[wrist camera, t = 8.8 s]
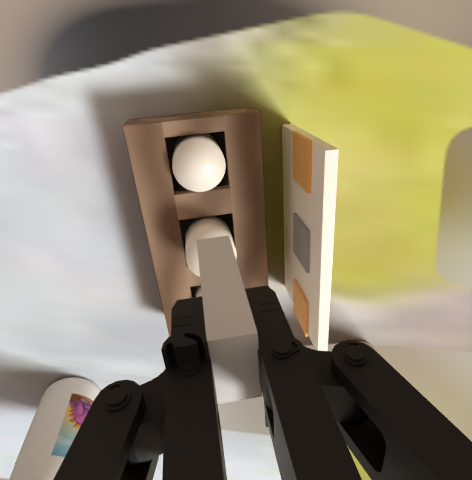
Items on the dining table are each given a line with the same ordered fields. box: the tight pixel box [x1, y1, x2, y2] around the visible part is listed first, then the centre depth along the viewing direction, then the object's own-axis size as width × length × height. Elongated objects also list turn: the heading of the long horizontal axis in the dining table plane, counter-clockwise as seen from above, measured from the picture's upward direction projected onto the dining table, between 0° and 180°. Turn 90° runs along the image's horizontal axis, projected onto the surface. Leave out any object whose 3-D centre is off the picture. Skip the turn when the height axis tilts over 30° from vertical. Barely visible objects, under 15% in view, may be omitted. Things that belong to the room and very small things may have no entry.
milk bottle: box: [10, 377, 101, 480], centre depth 39 cm, size 8×8×20 cm
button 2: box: [185, 216, 237, 277], centre depth 35 cm, size 5×5×4 cm
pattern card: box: [282, 124, 339, 351], centre depth 35 cm, size 1×20×12 cm, turn 5°
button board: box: [123, 107, 268, 337], centre depth 38 cm, size 12×24×4 cm, turn 5°
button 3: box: [172, 133, 226, 192], centre depth 34 cm, size 5×5×4 cm
